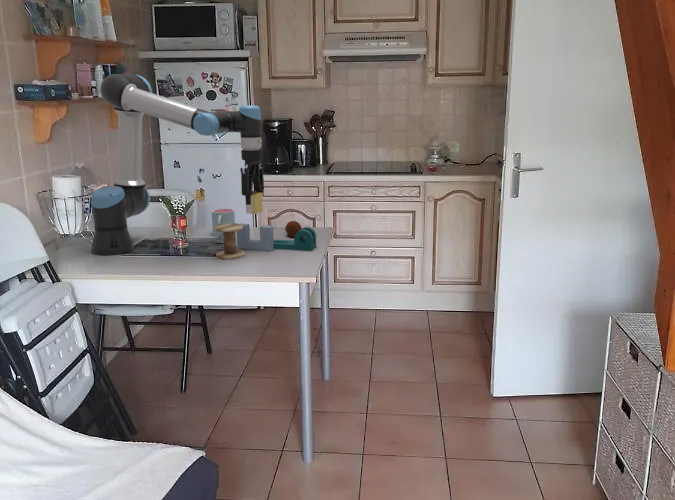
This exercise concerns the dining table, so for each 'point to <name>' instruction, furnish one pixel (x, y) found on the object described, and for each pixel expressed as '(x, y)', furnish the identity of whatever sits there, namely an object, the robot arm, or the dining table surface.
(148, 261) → the dining table surface
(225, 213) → the mug
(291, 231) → the potato
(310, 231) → the bracket
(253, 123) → the robot arm
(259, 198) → the yellow block
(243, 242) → the notch board
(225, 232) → the bobbin
